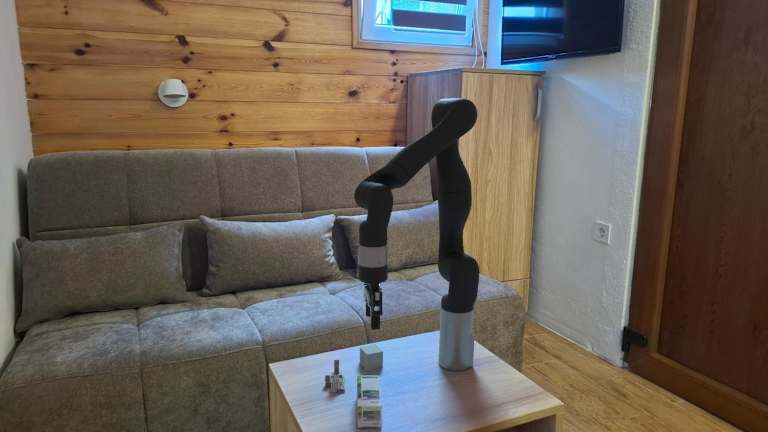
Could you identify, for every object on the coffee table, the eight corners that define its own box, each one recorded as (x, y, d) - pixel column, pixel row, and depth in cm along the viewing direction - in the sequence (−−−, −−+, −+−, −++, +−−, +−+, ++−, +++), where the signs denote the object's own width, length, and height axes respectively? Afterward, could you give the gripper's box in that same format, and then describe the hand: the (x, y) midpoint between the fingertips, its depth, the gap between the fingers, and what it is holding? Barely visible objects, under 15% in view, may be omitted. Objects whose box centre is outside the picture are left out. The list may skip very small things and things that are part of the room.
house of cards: (313, 377, 147) (312, 351, 146) (344, 376, 148) (344, 350, 146) (311, 394, 139) (310, 367, 137) (344, 393, 139) (344, 366, 138)
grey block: (375, 360, 157) (375, 344, 156) (382, 367, 153) (383, 351, 152) (359, 363, 155) (359, 347, 154) (366, 371, 151) (366, 354, 150)
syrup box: (379, 374, 137) (382, 404, 123) (379, 395, 138) (382, 428, 124) (357, 375, 137) (357, 405, 122) (357, 396, 138) (357, 429, 123)
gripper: (393, 269, 128) (392, 332, 131) (382, 253, 142) (381, 311, 145) (362, 270, 126) (362, 334, 130) (354, 254, 140) (354, 312, 143)
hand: (372, 322), depth 137 cm, fingers open, 8 cm apart
